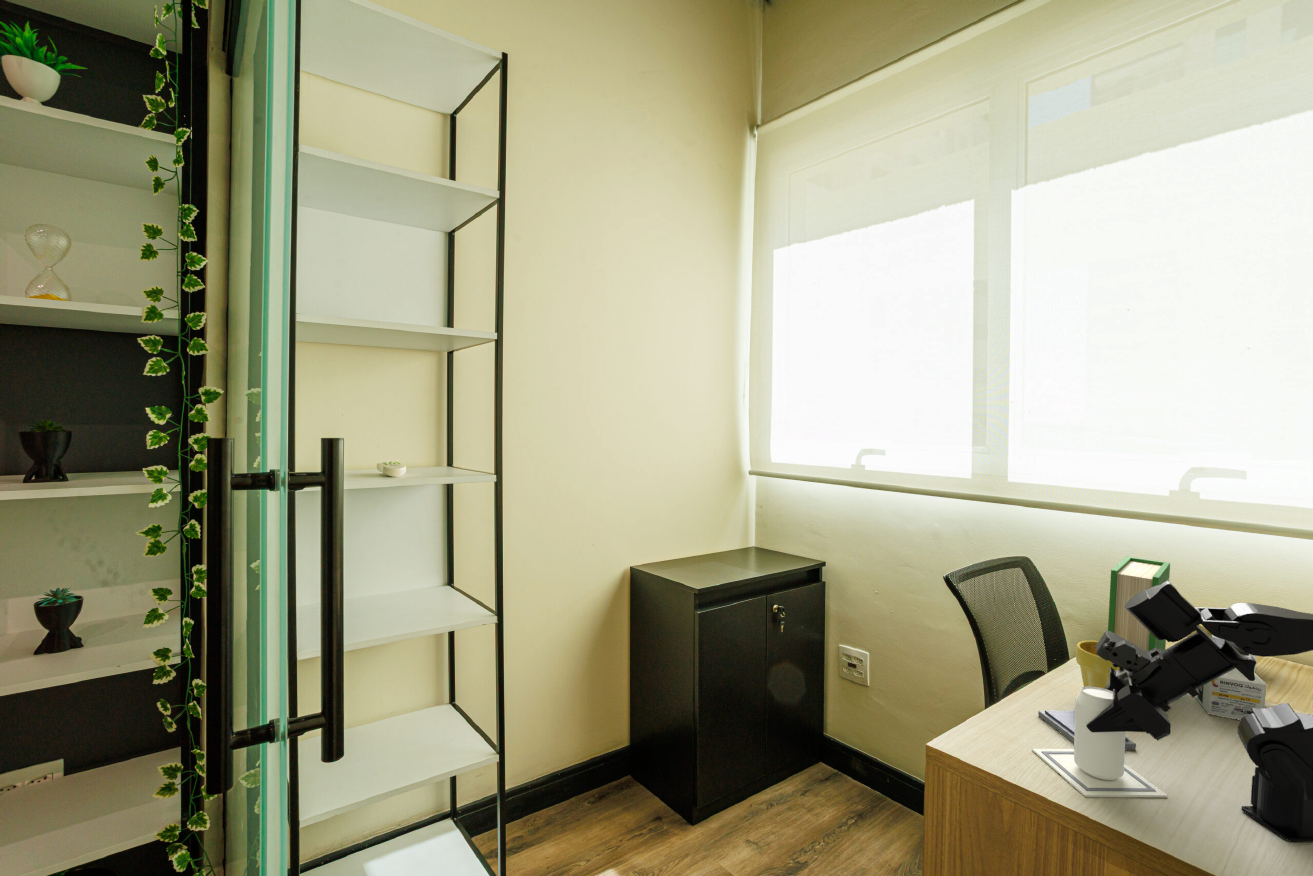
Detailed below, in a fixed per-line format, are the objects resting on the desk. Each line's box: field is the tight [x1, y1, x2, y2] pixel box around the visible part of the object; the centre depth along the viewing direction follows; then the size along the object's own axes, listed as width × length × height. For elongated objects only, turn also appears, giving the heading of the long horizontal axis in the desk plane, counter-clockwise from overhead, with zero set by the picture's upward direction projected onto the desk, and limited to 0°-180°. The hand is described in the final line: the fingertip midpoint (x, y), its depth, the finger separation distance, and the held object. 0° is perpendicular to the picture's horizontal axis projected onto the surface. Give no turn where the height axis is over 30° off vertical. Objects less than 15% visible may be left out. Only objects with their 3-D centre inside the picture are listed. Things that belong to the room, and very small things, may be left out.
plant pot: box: [1075, 640, 1120, 689], centre depth 118 cm, size 10×10×10 cm
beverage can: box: [1073, 686, 1126, 780], centre depth 93 cm, size 6×6×12 cm
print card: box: [1031, 748, 1168, 798], centre depth 94 cm, size 12×12×1 cm
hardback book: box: [1107, 556, 1171, 652], centre depth 127 cm, size 18×7×24 cm, turn 135°
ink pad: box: [1037, 709, 1137, 751], centre depth 106 cm, size 11×9×1 cm
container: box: [1195, 640, 1267, 721], centre depth 115 cm, size 8×8×13 cm
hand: (1088, 720), depth 94 cm, fingers closed on beverage can, 6 cm apart
